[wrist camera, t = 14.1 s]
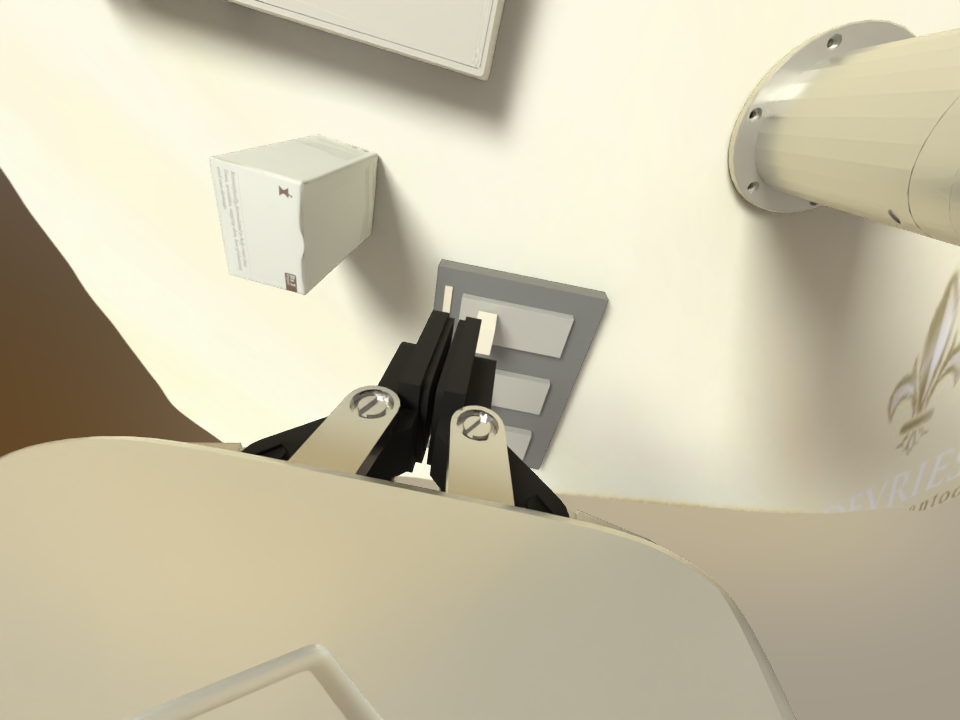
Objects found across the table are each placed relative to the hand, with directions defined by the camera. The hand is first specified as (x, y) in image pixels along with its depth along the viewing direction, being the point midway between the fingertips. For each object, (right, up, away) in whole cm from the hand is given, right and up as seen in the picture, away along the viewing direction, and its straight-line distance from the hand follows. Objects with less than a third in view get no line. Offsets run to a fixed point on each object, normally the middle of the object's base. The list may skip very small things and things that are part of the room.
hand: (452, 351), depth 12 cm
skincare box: (-12, +17, +23) cm, 31 cm away
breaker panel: (+3, -2, +34) cm, 35 cm away
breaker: (+2, +4, +26) cm, 27 cm away
